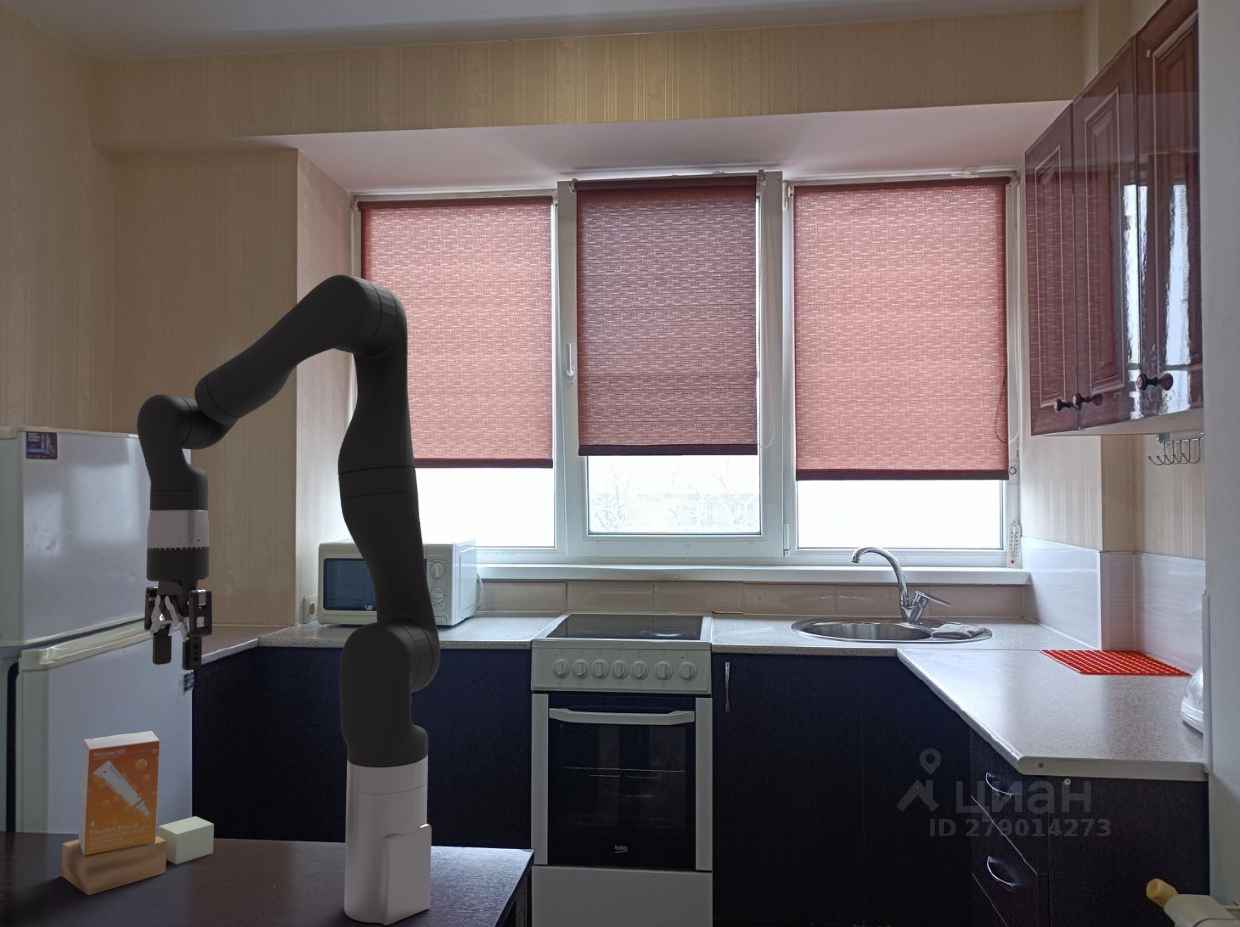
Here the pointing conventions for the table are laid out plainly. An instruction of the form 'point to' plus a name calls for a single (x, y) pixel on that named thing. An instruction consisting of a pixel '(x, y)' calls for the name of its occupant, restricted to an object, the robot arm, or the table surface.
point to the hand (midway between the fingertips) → (176, 666)
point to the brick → (187, 839)
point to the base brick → (112, 865)
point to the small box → (119, 792)
